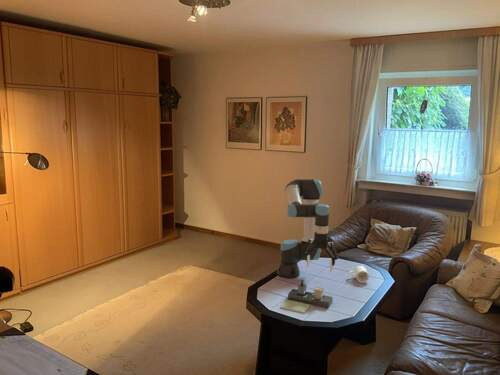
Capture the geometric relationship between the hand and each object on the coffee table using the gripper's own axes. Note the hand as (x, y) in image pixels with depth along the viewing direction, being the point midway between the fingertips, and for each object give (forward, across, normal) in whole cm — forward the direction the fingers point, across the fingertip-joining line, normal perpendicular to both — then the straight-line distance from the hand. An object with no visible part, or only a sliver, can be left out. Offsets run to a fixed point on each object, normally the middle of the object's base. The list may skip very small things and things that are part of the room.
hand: (319, 268), depth 229 cm
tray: (+21, -10, -12) cm, 26 cm away
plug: (+20, 0, -1) cm, 20 cm away
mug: (+21, +14, +46) cm, 53 cm away
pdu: (+21, -5, -1) cm, 21 cm away
